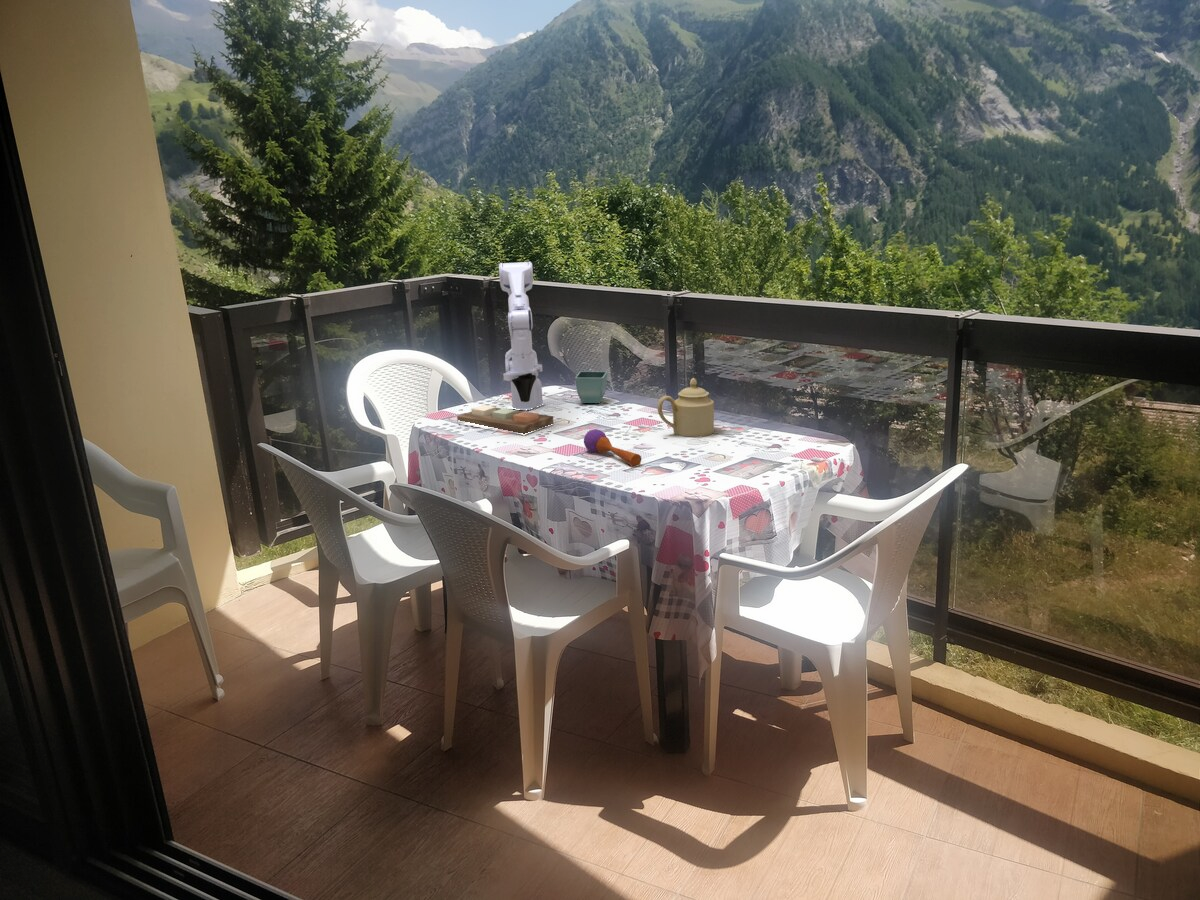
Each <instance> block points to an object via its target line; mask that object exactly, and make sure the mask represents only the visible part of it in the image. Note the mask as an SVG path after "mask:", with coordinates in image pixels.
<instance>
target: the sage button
mask: <svg viewBox="0 0 1200 900" xmlns="http://www.w3.org/2000/svg"><path fill="white" fill-rule="evenodd" d="M517 411H518V410H513V409H507V408H506V407H505V408H504V407H503V408H502V409H500V410H497V411H494V412H492V418H498V419H504V420H506V419H509V418H512V417H513V415H516V414H517Z"/></svg>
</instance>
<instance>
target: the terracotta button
mask: <svg viewBox="0 0 1200 900" xmlns="http://www.w3.org/2000/svg"><path fill="white" fill-rule="evenodd" d="M538 414H539V413H537V412H532V411H531V412H530V411H522V413H519V414H516V415H513V418H514V421H517V422H523V423H530V422H532V421H535V420H538V419H539V415H538Z"/></svg>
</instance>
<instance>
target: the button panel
mask: <svg viewBox="0 0 1200 900" xmlns="http://www.w3.org/2000/svg"><path fill="white" fill-rule="evenodd" d="M500 409H503V408H500V407H496V411H497V410H500ZM522 412H523V411H519V410H517V414H519V413H522ZM538 415H539V419H538V420H535V421H532V422H530V423H523V422H517V421H514V418H513V417H512V418H509V419H506V420H504V419H498V418H492V414H490V415H487V416H479V415H473V414H472V411H469V412H466V413H463V414H459V415H457V416H456V419H457V421H458V420H460V421H465V422H470V423H475V424H479V425H484V426H488V427H494V428H498V429H503V430H508V431H513V432H518V433H523V434H525V433H528V432H531V431H534V430H537V429H539V428H542V427H545V426H548V425H551V424H553V425H554V416H553V415H546V414H540V413H538ZM551 426H552V425H551Z"/></svg>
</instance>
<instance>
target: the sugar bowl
mask: <svg viewBox="0 0 1200 900" xmlns="http://www.w3.org/2000/svg"><path fill="white" fill-rule="evenodd" d="M697 384H698V382H697V379H696V378H695V377H692V378H691V379H690V382H689V385H690V386H688V387H685V388H683V389H682V390H681V391H679V392H678V393H677V395H678V397H677V399H674V398H673V397H672V396H670V395H664V396H662V397H660V398H659V400H658V402H657V407H656V408H657V413H658V415H659V417H660V419H661V420H662V421H663V422H664V423H665V424H666V425H668V426H670V427H671V428H672V430H673V433H674V434H675V435H677V436H681V437H688V438H690V437H691V438H697V437H698V438H699V437H700V436H701V437H705V436H706V435H707V436H710V435H712V434H713V433H714V431H715V426H714V425H715V403H714V400H712V399H711V398H710V397H709V396H708V395H710V393H709V391H707V390H705V389H704V388H702V387H698V386H697ZM667 400H669V401H670V404H671V408H672V422H671V421H669V420H668V419H667V418H666V417H665V415H664V413H663V404H664V402H665V401H667ZM707 436H706V437H707Z"/></svg>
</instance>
